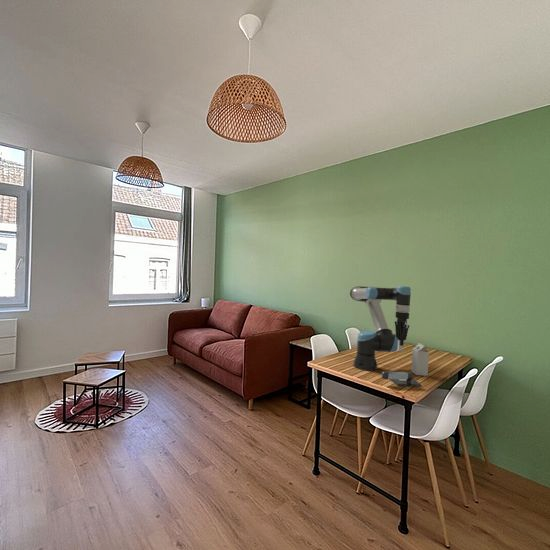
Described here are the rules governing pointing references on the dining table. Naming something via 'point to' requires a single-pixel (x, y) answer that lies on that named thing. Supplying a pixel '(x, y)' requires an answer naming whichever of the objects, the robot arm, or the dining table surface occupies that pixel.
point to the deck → (405, 382)
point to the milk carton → (420, 360)
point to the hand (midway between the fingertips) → (400, 350)
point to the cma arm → (397, 375)
